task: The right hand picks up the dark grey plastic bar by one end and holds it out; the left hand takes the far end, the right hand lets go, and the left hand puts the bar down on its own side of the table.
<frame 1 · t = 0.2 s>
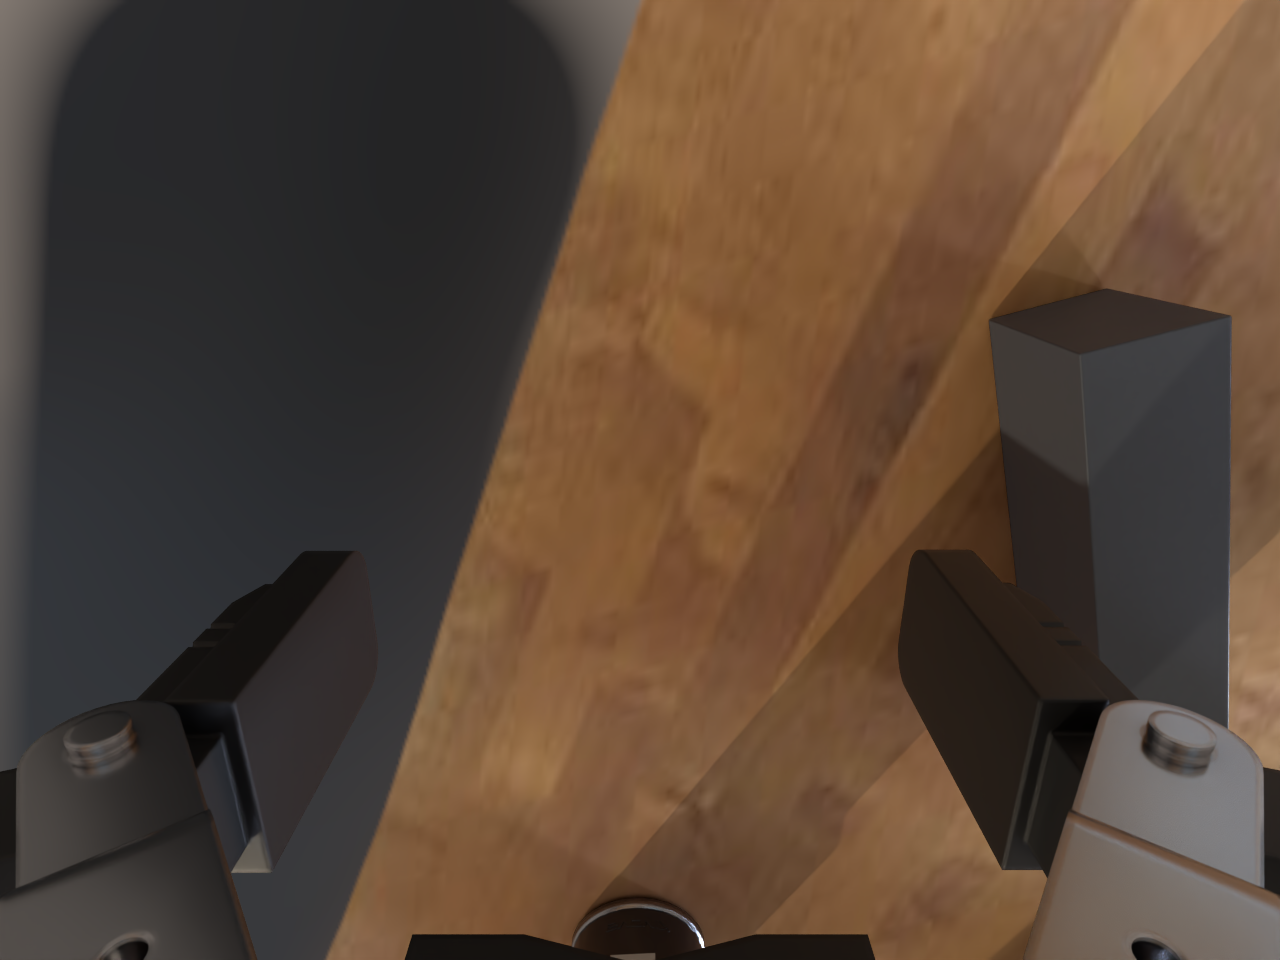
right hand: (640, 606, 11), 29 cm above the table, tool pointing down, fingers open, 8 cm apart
bar: (1063, 516, 42), on the table
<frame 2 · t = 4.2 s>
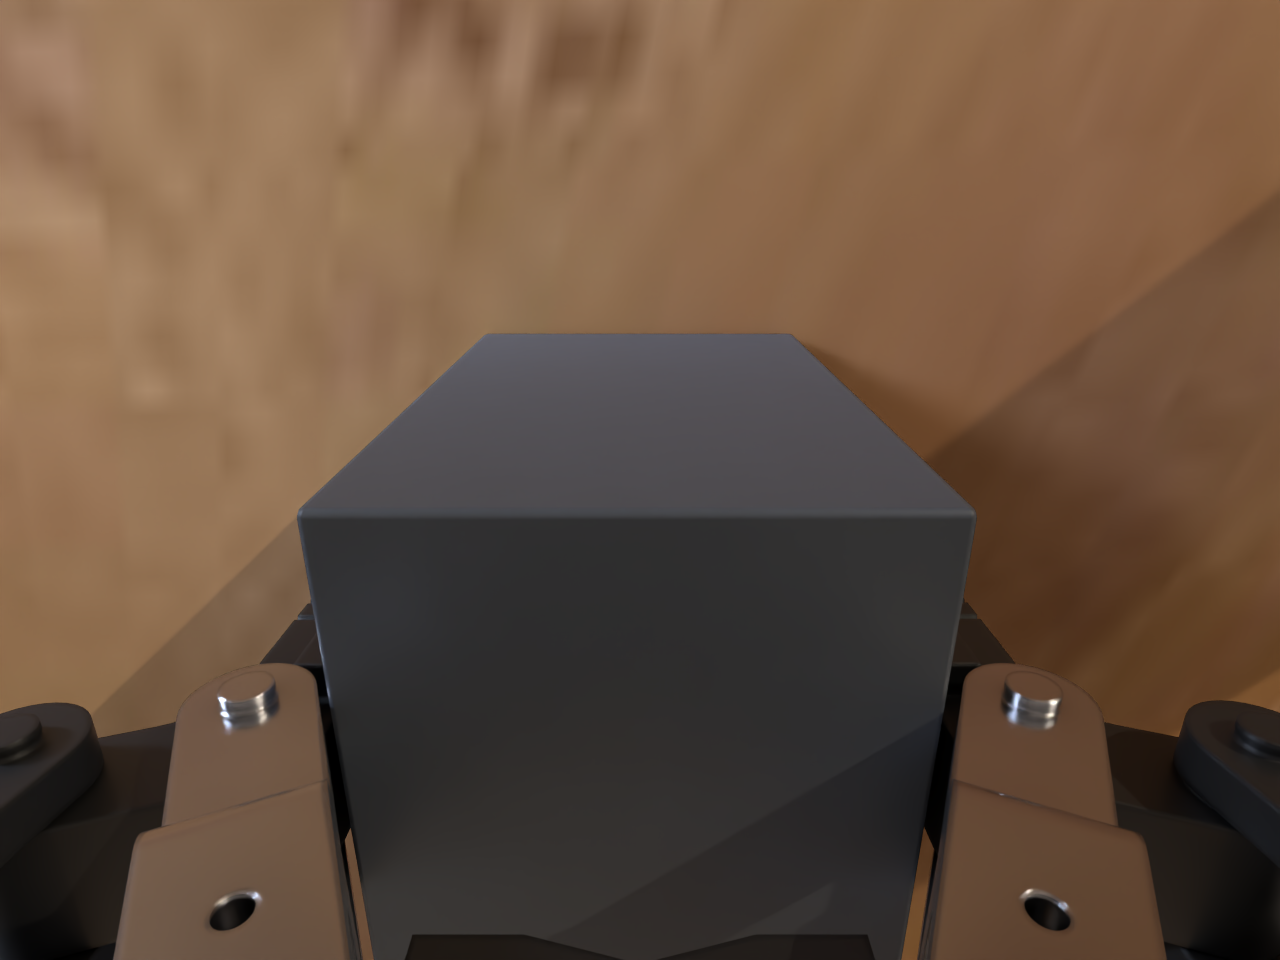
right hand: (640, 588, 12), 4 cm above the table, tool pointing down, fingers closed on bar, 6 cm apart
bar: (638, 822, 19), on the table, touching right hand
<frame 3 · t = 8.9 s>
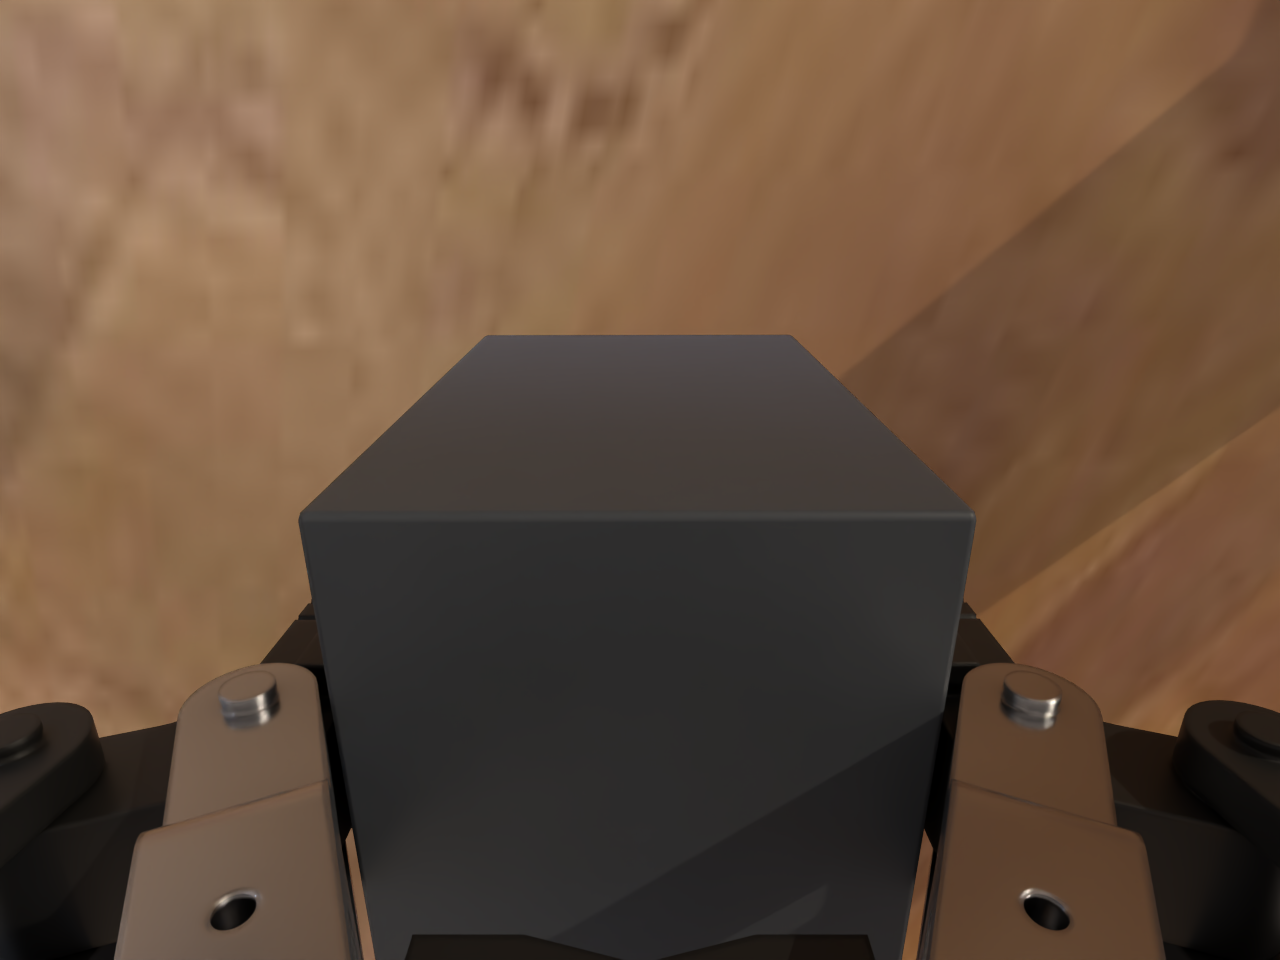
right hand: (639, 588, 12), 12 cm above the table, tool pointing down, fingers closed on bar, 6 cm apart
bar: (639, 822, 19), point 7 cm above the table, touching right hand, left hand
when the right hand's fingers open (12 cm above the table, at t = 9.7 s): bar stays where it is, held by the left hand.
when the left hand's fingers open (2 cm above the table, at t = 17.6 s): bar drops 1 cm, on the table.
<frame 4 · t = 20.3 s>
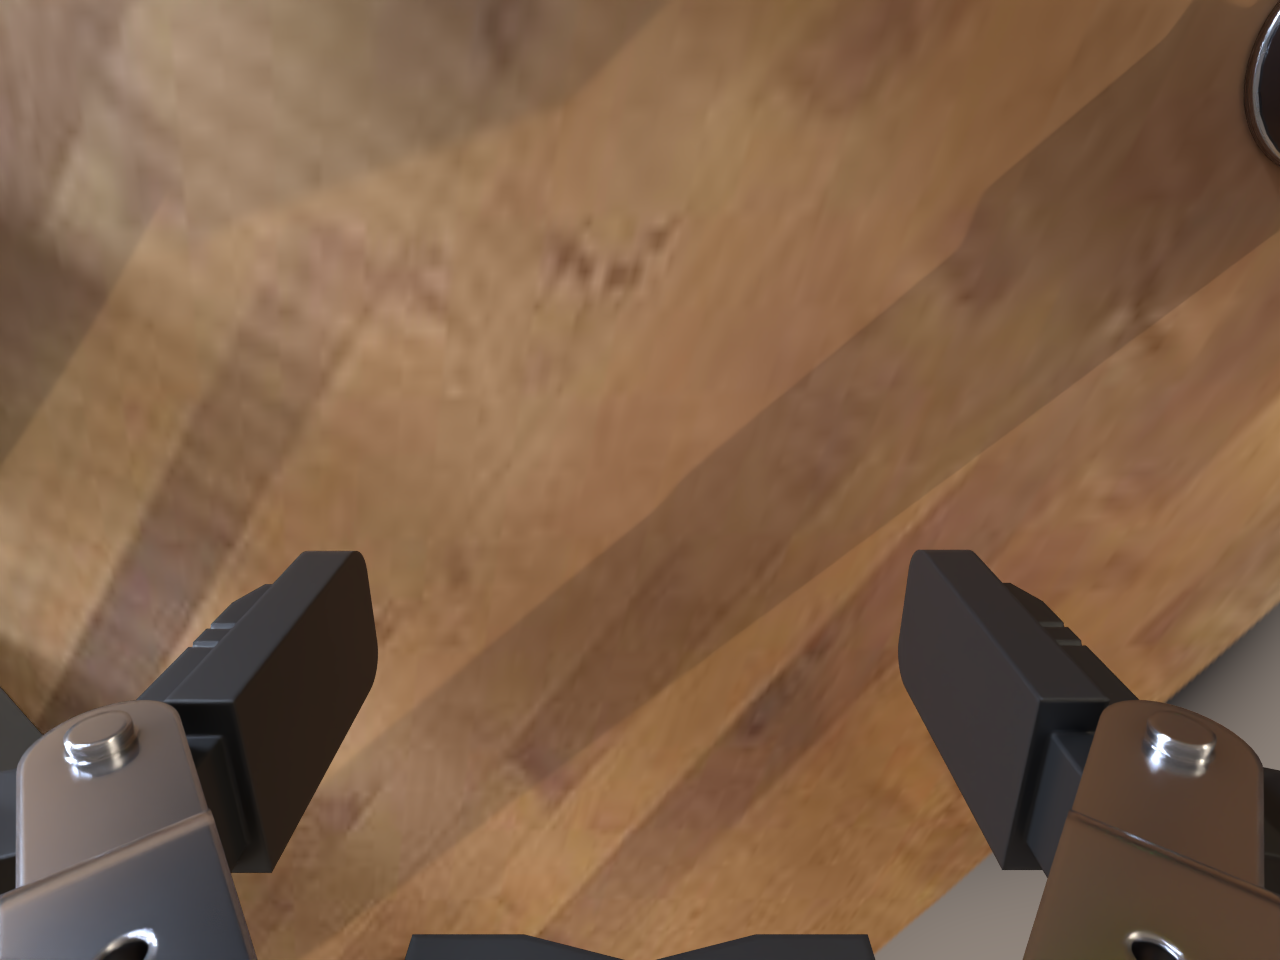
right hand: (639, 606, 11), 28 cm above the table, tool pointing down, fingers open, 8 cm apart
bar: (16, 763, 48), on the table
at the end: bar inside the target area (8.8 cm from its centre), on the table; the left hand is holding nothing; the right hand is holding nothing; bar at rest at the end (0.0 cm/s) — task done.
